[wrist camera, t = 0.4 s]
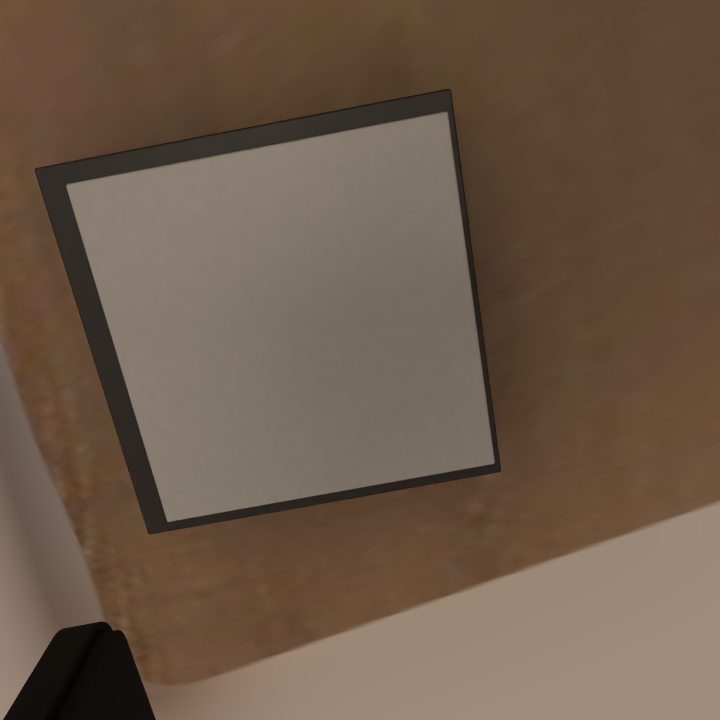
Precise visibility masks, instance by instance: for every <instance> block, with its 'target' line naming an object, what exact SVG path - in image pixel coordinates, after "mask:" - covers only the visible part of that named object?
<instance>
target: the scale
mask: <svg viewBox="0 0 720 720" xmlns="http://www.w3.org/2000/svg"><path fill="white" fill-rule="evenodd" d="M35 173H36V176H37V179H38V183H39V186H40V189H41V192H42V195H43V199H44V202H45V205H46V208H47V211H48V215H49V218H50V221H51V224H52V227H53V231H54V234H55V237H56V240H57V243H58V247H59V250H60V253H61V256H62V259H63V263H64V266H65V269H66V272H67V275H68V278H69V282H70V285H71V288H72V291H73V294H74V298H75V301H76V304H77V307H78V310H79V314H80V317H81V320H82V323H83V326H84V330H85V333H86V336H87V339H88V342H89V346H90V349H91V352H92V355H93V358H94V362H95V365H96V368H97V371H98V374H99V378H100V381H101V384H102V387H103V390H104V393H105V397H106V400H107V403H108V406H109V409H110V413H111V416H112V419H113V422H114V425H115V429H116V432H117V435H118V438H119V441H120V445H121V448H122V451H123V454H124V457H125V461H126V464H127V467H128V470H129V473H130V477H131V480H132V483H133V486H134V489H135V493H136V496H137V499H138V502H139V505H140V509H141V512H142V515H143V518H144V521H145V524H146V528H147V531H148V534H155V533H160V532H166V531H172V530H177V529H183V528H188V527H194V526H200V525H205V524H211V523H216V522H222V521H228V520H233V519H239V518H245V517H250V516H256V515H261V514H267V513H273V512H278V511H284V510H289V509H295V508H301V507H306V506H312V505H317V504H323V503H329V502H334V501H340V500H345V499H351V498H357V497H362V496H368V495H374V494H379V493H385V492H390V491H396V490H402V489H407V488H413V487H418V486H424V485H430V484H435V483H441V482H446V481H452V480H458V479H463V478H469V477H474V476H480V475H486V474H491V473H497V472H501V466H500V459H499V451H498V444H497V436H496V428H495V421H494V413H493V406H492V398H491V390H490V383H489V375H488V368H487V360H486V352H485V345H484V337H483V330H482V322H481V314H480V307H479V299H478V292H477V284H476V277H475V269H474V261H473V254H472V246H471V239H470V231H469V223H468V216H467V208H466V201H465V193H464V185H463V178H462V170H461V163H460V155H459V147H458V140H457V132H456V125H455V117H454V110H453V102H452V94H451V90H450V89H445V90H440V91H435V92H430V93H425V94H419V95H414V96H409V97H404V98H399V99H393V100H388V101H383V102H378V103H373V104H367V105H362V106H357V107H352V108H347V109H341V110H336V111H331V112H326V113H321V114H315V115H310V116H305V117H300V118H295V119H289V120H284V121H279V122H274V123H269V124H263V125H258V126H253V127H248V128H243V129H237V130H232V131H227V132H222V133H217V134H211V135H206V136H201V137H196V138H191V139H185V140H180V141H175V142H170V143H165V144H159V145H154V146H149V147H144V148H139V149H133V150H128V151H123V152H118V153H113V154H107V155H102V156H97V157H92V158H87V159H81V160H76V161H71V162H66V163H61V164H55V165H50V166H45V167H40V168H36V169H35Z"/></svg>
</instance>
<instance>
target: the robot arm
mask: <svg viewBox="0 0 720 720" xmlns="http://www.w3.org/2000/svg"><path fill="white" fill-rule="evenodd" d="M3 720H155V717H154V714H153V711H152V709H151V706H150V703H149V700H148V697H147V694H146V692H145V689H144V686H143V683H142V681H141V678H140V675H139V672H138V670H137V667H136V664H135V661H134V659H133V656H132V653H131V650H130V647H129V645H128V642H127V639H126V637H125V635H124V633H123V632H122V631H119V630H115V631H113V630H112V628H111V626H110V625H109V624H108V623H106V622H97V623H91V624H86V625H80V626H75V627H69V628H64V629H62V630H60V631H58V632H57V633H56V635H55V636H54V637H53V639H52V641H51V642H50V644H49V645H48V647H47V649H46V650H45V652H44V654H43V655H42V657H41V659H40V660H39V662H38V663H37V665H36V667H35V668H34V670H33V672H32V673H31V675H30V677H29V678H28V680H27V681H26V683H25V685H24V687H23V688H22V690H21V691H20V693H19V695H18V696H17V698H16V700H15V701H14V703H13V705H12V706H11V708H10V709H9V711H8V713H7V714H6V716H5V718H4V719H3Z"/></svg>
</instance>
